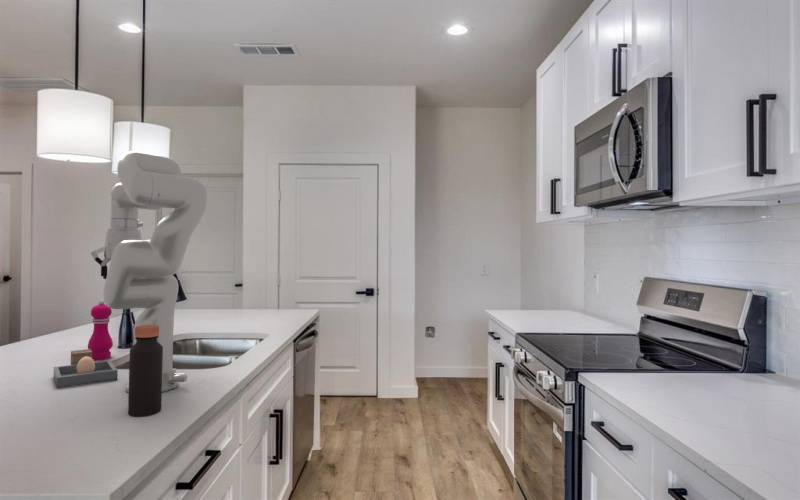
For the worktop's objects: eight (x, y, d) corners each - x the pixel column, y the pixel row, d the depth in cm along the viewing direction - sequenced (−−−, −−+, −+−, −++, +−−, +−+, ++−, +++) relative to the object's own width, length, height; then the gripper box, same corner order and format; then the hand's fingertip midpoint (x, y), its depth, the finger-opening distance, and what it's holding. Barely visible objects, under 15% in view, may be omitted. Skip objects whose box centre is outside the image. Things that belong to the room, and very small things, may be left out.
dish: (117, 379, 130) (117, 370, 130) (56, 388, 121) (56, 377, 121) (109, 369, 141) (110, 360, 141) (53, 376, 132) (53, 367, 132)
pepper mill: (116, 357, 156) (118, 299, 156) (93, 361, 150) (95, 301, 150) (106, 354, 160) (107, 298, 160) (83, 358, 154) (85, 299, 154)
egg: (82, 379, 128) (83, 359, 128) (72, 377, 130) (73, 357, 130) (98, 375, 132) (98, 355, 132) (88, 373, 134) (89, 354, 134)
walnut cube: (91, 367, 143) (92, 351, 143) (72, 369, 140) (72, 353, 140) (89, 364, 147) (89, 349, 147) (70, 366, 144) (71, 350, 144)
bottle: (139, 406, 109) (141, 323, 109) (167, 407, 109) (169, 324, 109) (121, 416, 102) (123, 328, 102) (150, 418, 102) (153, 329, 102)
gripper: (151, 226, 153) (150, 277, 153) (90, 223, 142) (88, 278, 142) (157, 226, 147) (155, 278, 147) (93, 223, 136) (91, 279, 136)
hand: (122, 278), depth 144 cm, fingers open, 9 cm apart
